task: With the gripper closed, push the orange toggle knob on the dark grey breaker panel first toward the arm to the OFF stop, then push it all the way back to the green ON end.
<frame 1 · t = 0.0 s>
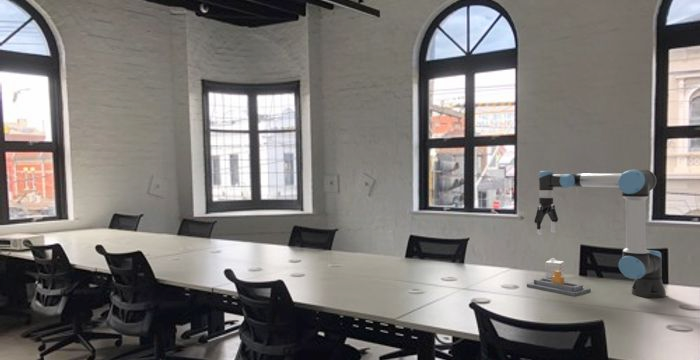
hand: (546, 233, 287), 28 cm above the table, fingers open, 13 cm apart
toggle: (557, 278, 270), point 6 cm above the table, slide at 0.0 cm
panel: (557, 288, 270), on the table
ink box: (554, 281, 288), on the table
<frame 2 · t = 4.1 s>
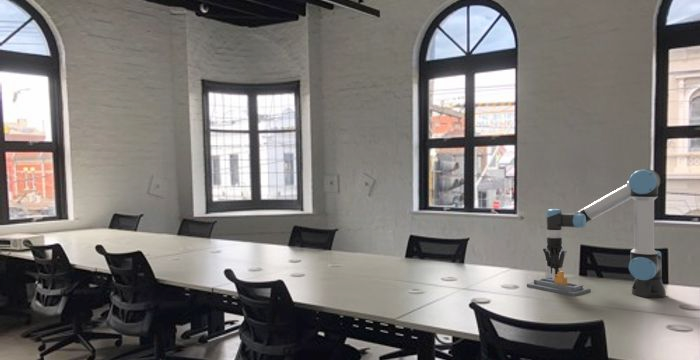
hand: (554, 279, 272), 5 cm above the table, fingers closed
toggle: (560, 278, 269), point 6 cm above the table, slide at -1.8 cm, touching gripper
everything else where it was.
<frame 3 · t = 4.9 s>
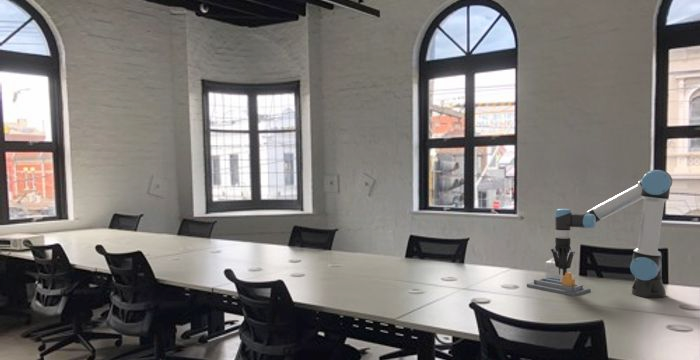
hand: (562, 280, 268), 5 cm above the table, fingers closed
toggle: (568, 280, 265), point 6 cm above the table, slide at -6.2 cm, touching gripper
everything else where it was.
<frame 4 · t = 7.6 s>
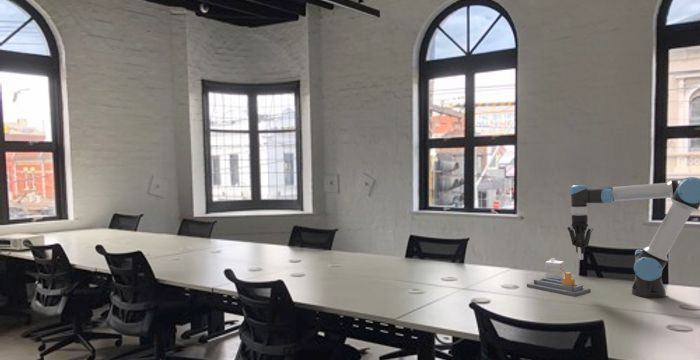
hand: (580, 259, 260), 18 cm above the table, fingers closed
toggle: (568, 280, 265), point 6 cm above the table, slide at -6.0 cm
everything else where it was.
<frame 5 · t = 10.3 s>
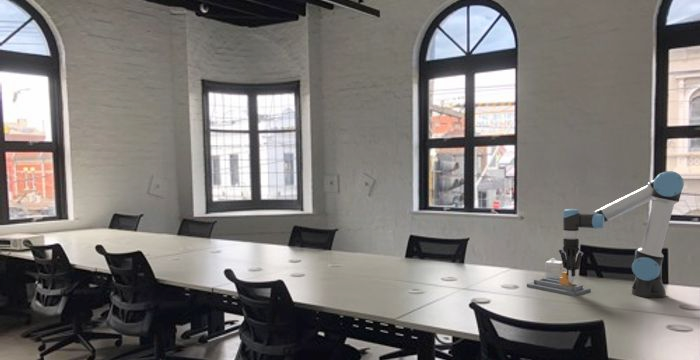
hand: (571, 282, 264), 5 cm above the table, fingers closed
toggle: (565, 279, 267), point 6 cm above the table, slide at -4.5 cm, touching gripper
everything else where it was.
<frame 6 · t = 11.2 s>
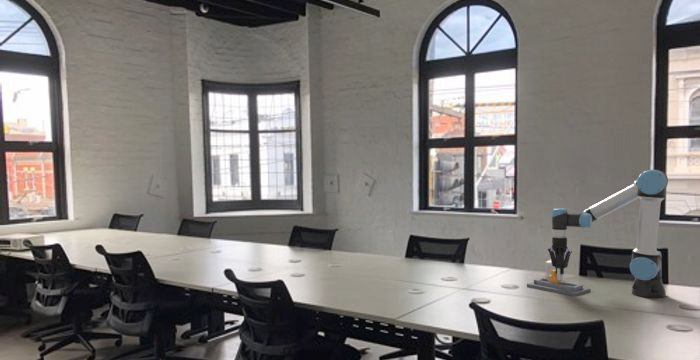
hand: (559, 279, 269), 5 cm above the table, fingers closed
toggle: (554, 277, 272), point 6 cm above the table, slide at 2.0 cm, touching gripper
everything else where it was.
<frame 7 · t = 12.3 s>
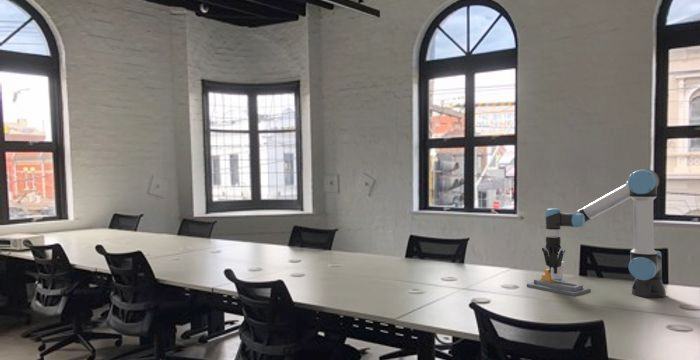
hand: (553, 279, 272), 5 cm above the table, fingers closed
toggle: (547, 276, 275), point 6 cm above the table, slide at 5.9 cm, touching gripper
everything else where it was.
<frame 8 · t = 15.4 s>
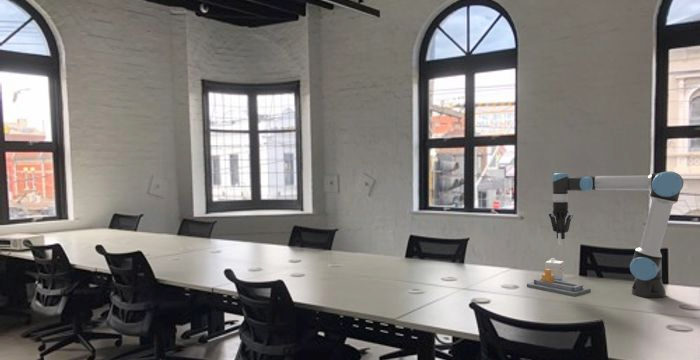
hand: (560, 244, 268), 24 cm above the table, fingers closed
toggle: (547, 276, 275), point 6 cm above the table, slide at 5.9 cm
everything else where it was.
at the end: toggle slide at 5.9 cm; toggle touching nothing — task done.
